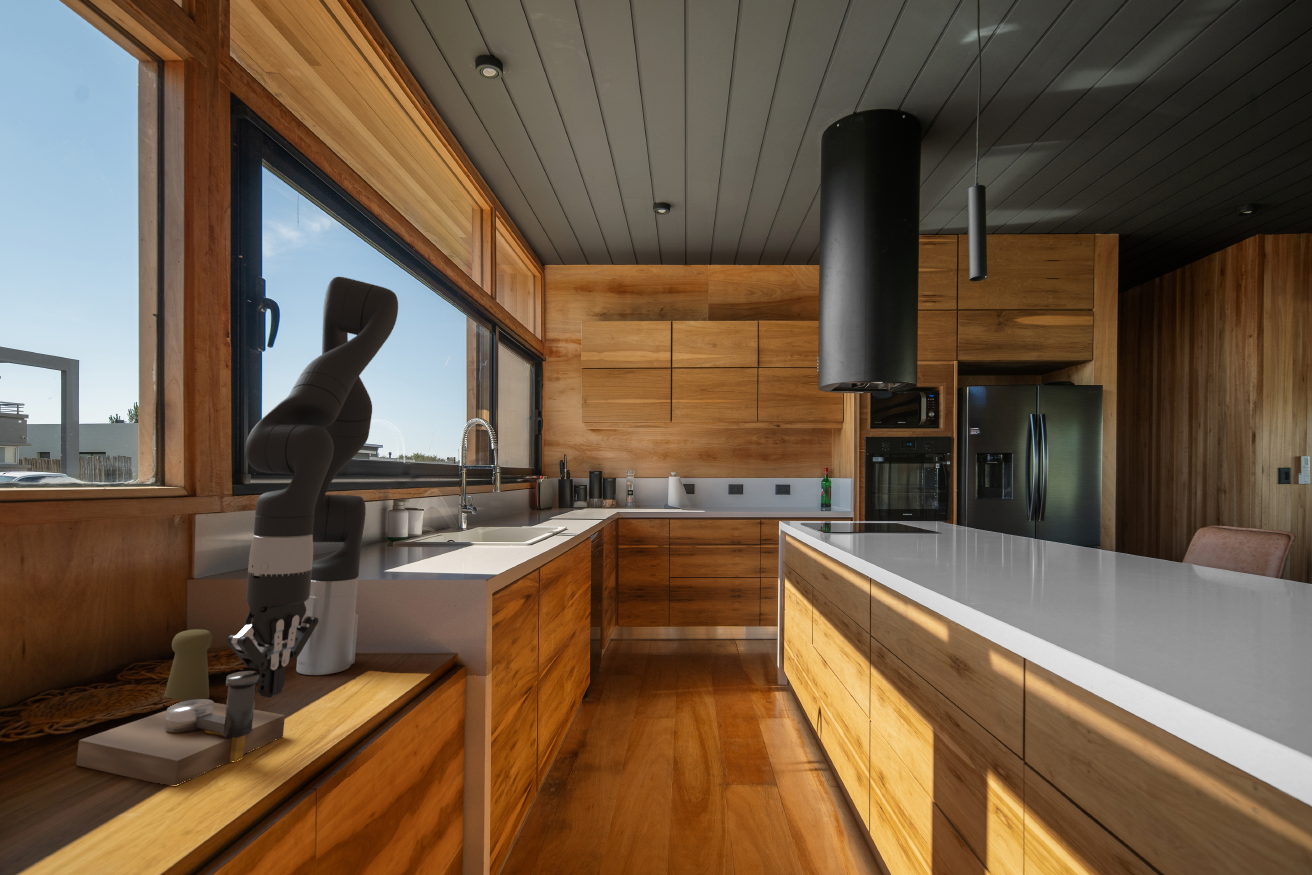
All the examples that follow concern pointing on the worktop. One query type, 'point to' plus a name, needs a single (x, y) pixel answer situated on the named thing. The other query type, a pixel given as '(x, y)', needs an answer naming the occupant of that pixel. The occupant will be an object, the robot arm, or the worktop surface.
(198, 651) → the olive tapered upright piece
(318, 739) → the worktop surface
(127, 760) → the stand
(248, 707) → the metal lever handle
